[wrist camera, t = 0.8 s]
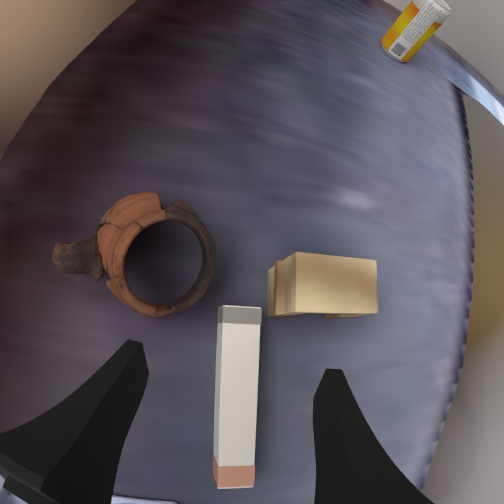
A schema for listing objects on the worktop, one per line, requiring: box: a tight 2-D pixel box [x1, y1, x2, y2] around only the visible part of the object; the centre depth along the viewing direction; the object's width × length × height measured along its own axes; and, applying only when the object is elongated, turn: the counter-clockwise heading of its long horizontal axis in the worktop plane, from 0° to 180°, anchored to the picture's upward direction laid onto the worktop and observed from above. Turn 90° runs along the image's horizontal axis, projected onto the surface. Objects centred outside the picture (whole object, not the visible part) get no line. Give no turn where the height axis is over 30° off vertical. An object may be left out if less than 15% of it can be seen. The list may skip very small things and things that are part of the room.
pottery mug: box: [52, 192, 216, 317], centre depth 22 cm, size 12×10×8 cm
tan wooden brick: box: [267, 252, 378, 318], centre depth 24 cm, size 4×7×6 cm, turn 87°
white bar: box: [213, 305, 262, 489], centre depth 22 cm, size 15×3×3 cm, turn 178°
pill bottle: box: [381, 0, 451, 62], centre depth 35 cm, size 6×6×15 cm
